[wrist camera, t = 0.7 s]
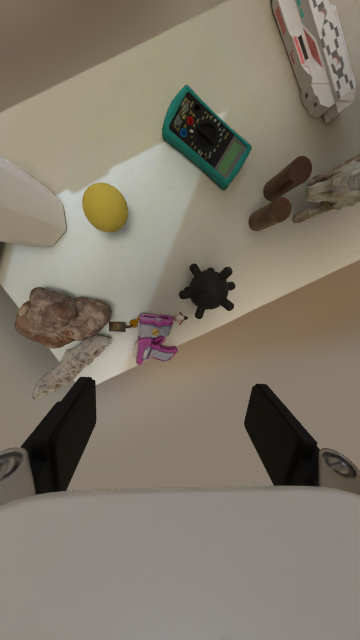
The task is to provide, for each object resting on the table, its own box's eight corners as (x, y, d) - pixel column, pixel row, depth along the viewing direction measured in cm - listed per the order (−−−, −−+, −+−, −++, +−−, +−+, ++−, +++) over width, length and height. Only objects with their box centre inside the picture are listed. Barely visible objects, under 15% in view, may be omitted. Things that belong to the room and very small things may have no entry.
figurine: (283, 178, 39) (327, 117, 24) (361, 171, 36) (461, 99, 22) (278, 227, 41) (316, 197, 26) (352, 223, 38) (438, 189, 24)
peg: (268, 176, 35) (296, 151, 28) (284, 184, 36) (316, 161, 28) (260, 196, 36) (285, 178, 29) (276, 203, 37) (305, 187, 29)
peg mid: (253, 208, 37) (275, 193, 29) (268, 215, 37) (295, 202, 30) (245, 227, 38) (266, 217, 30) (261, 233, 38) (285, 225, 31)
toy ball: (235, 320, 40) (184, 333, 36) (215, 283, 44) (168, 291, 41) (261, 287, 31) (195, 300, 27) (232, 246, 35) (173, 252, 32)
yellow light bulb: (139, 231, 36) (130, 218, 27) (108, 243, 37) (87, 234, 27) (126, 194, 34) (110, 166, 25) (92, 206, 35) (64, 183, 25)
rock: (108, 280, 42) (89, 265, 32) (122, 330, 42) (108, 330, 32) (27, 302, 41) (-18, 292, 31) (41, 354, 40) (-1, 361, 30)
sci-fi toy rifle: (312, 134, 34) (233, -91, 26) (343, 110, 33) (272, -130, 25) (328, 120, 31) (242, -146, 22) (364, 93, 30) (289, -194, 21)
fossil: (53, 398, 44) (34, 407, 39) (39, 378, 44) (18, 384, 39) (118, 342, 43) (107, 344, 38) (103, 322, 43) (90, 322, 38)
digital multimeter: (181, 93, 31) (183, 76, 28) (248, 155, 34) (255, 145, 31) (158, 137, 32) (158, 124, 30) (224, 192, 36) (229, 186, 33)
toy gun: (184, 321, 39) (135, 318, 37) (176, 366, 43) (132, 365, 41) (181, 316, 42) (136, 312, 40) (174, 358, 46) (133, 357, 44)
